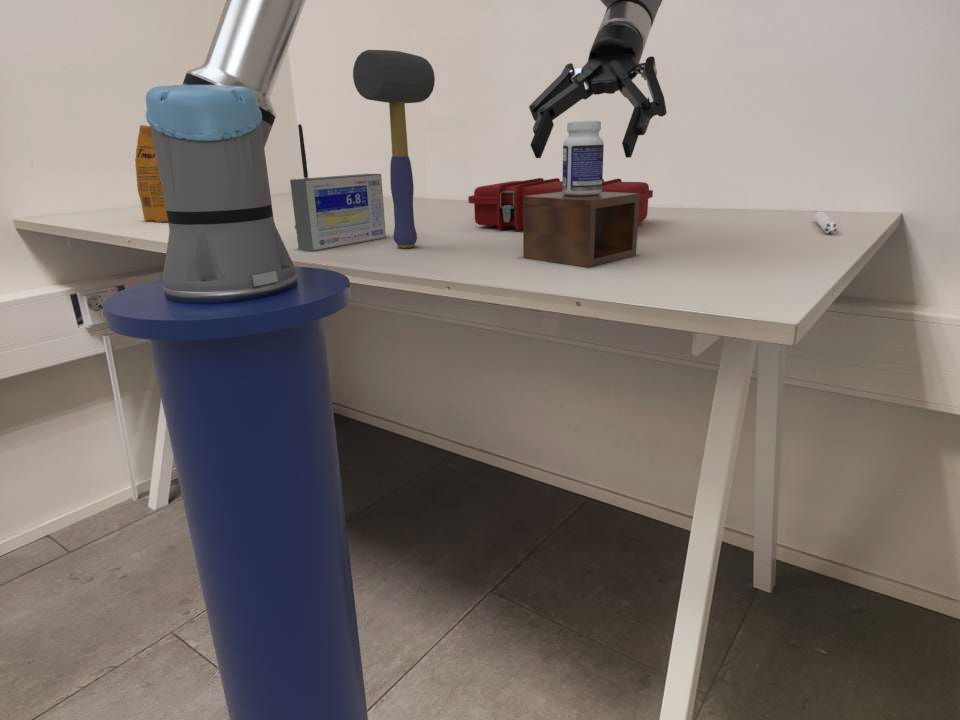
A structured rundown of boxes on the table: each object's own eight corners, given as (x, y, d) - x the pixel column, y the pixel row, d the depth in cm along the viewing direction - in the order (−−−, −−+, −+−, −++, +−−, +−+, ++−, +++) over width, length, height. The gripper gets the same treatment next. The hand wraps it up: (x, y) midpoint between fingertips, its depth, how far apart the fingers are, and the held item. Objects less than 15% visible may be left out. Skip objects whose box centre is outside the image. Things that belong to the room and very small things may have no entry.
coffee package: (172, 216, 159) (155, 125, 152) (205, 218, 153) (189, 123, 146) (136, 221, 151) (117, 124, 143) (170, 223, 145) (151, 123, 138)
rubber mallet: (397, 255, 98) (383, 43, 88) (363, 251, 102) (346, 49, 92) (446, 243, 107) (437, 52, 97) (413, 240, 111) (401, 56, 101)
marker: (837, 236, 105) (840, 222, 104) (824, 235, 106) (826, 221, 105) (825, 222, 121) (827, 210, 120) (813, 222, 122) (815, 210, 121)
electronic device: (313, 251, 103) (298, 123, 96) (288, 248, 107) (272, 124, 100) (388, 237, 116) (379, 123, 109) (363, 235, 120) (353, 124, 113)
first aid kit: (465, 229, 124) (463, 185, 121) (513, 216, 143) (513, 177, 140) (622, 237, 109) (625, 187, 107) (653, 221, 129) (656, 178, 126)
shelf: (523, 257, 93) (523, 196, 90) (572, 247, 101) (573, 190, 98) (588, 267, 85) (591, 200, 82) (636, 255, 93) (640, 193, 90)
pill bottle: (609, 194, 90) (613, 120, 87) (586, 197, 86) (588, 120, 83) (577, 192, 94) (579, 122, 90) (553, 195, 90) (555, 122, 87)
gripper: (706, 57, 91) (672, 169, 84) (551, 70, 103) (509, 169, 96) (702, 11, 85) (665, 128, 78) (537, 30, 97) (492, 133, 90)
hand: (579, 151), depth 87 cm, fingers open, 13 cm apart
